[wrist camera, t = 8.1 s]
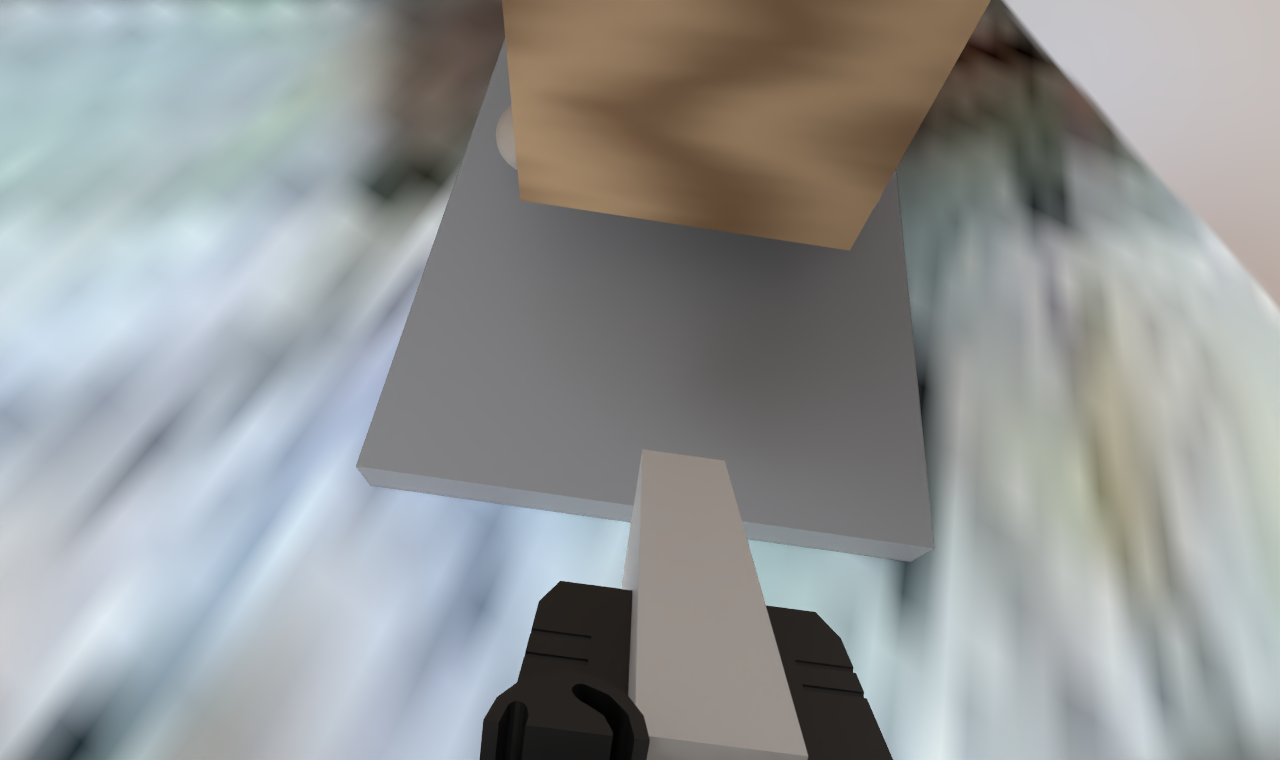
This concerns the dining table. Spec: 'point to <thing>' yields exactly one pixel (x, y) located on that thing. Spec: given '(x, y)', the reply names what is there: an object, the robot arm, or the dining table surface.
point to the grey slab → (656, 365)
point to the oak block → (724, 107)
